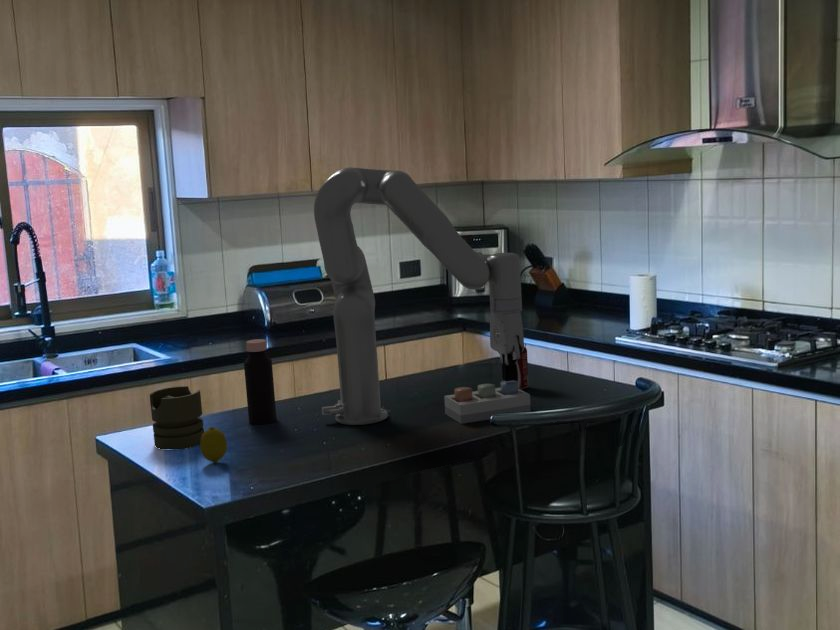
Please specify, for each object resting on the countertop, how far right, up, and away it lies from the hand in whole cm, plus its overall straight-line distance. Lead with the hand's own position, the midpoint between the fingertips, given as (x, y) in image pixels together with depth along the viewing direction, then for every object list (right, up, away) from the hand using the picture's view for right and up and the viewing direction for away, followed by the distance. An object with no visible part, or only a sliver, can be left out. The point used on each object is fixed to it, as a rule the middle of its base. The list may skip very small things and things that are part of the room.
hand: (509, 379), depth 243 cm
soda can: (+3, -4, +21) cm, 22 cm away
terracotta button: (-11, -5, -3) cm, 13 cm away
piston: (-77, -14, -10) cm, 79 cm away
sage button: (-6, -4, -1) cm, 7 cm away
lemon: (-65, -16, -27) cm, 73 cm away
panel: (-5, -8, -1) cm, 10 cm away
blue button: (0, -4, +1) cm, 4 cm away
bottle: (-60, -11, +4) cm, 61 cm away
